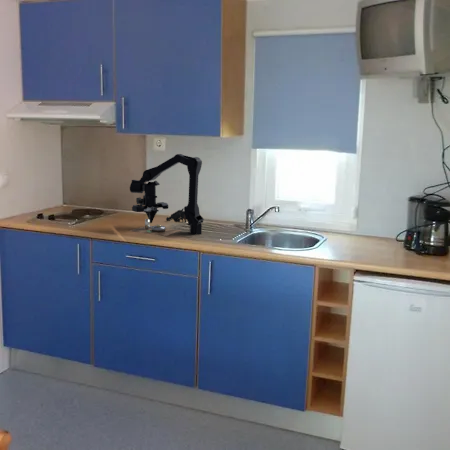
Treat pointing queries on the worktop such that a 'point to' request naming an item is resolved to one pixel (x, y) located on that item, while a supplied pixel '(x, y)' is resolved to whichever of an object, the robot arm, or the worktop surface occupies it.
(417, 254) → the worktop surface
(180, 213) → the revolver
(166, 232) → the board
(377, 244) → the worktop surface
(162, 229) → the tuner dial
